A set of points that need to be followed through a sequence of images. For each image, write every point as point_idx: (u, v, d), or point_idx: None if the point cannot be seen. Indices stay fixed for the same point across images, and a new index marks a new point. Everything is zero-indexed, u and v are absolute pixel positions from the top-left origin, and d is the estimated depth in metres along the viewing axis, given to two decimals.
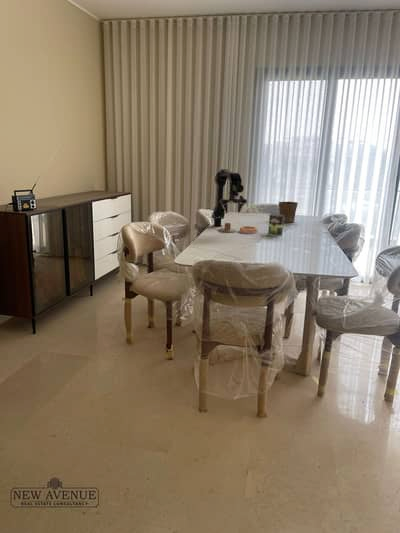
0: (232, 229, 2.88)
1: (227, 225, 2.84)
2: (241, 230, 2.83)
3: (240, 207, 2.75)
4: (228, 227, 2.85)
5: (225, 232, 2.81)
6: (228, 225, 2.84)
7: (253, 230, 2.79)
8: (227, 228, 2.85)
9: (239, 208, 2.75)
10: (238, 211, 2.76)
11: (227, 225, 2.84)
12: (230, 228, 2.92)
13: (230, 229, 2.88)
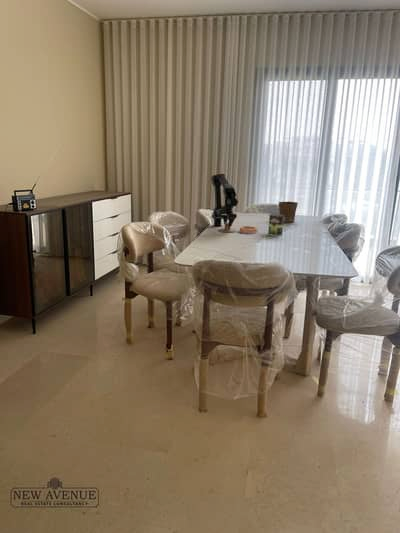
0: (232, 229, 2.88)
1: (227, 225, 2.84)
2: (241, 230, 2.83)
3: None
4: (228, 227, 2.85)
5: (225, 232, 2.81)
6: (228, 225, 2.84)
7: (253, 230, 2.79)
8: (227, 228, 2.85)
9: (229, 222, 2.80)
10: None
11: (227, 225, 2.84)
12: (230, 228, 2.92)
13: (230, 229, 2.88)
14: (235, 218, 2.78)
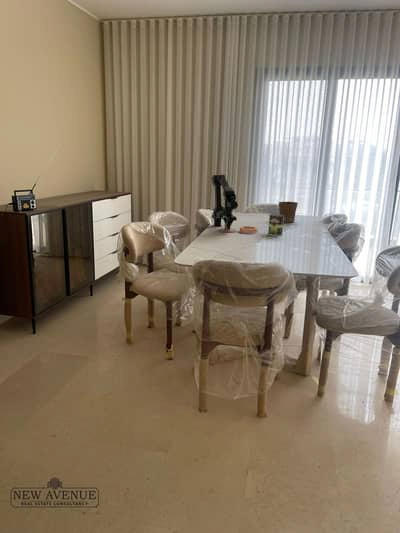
0: (232, 229, 2.88)
1: None
2: (241, 230, 2.83)
3: (227, 223, 2.83)
4: None
5: (225, 232, 2.81)
6: None
7: (253, 230, 2.79)
8: (227, 228, 2.85)
9: (227, 224, 2.84)
10: None
11: None
12: (230, 228, 2.92)
13: (230, 229, 2.88)
14: (233, 220, 2.81)
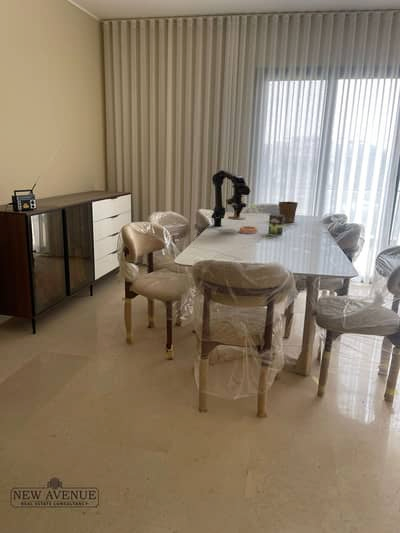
0: (242, 217, 2.84)
1: (236, 212, 2.80)
2: (241, 230, 2.83)
3: None
4: None
5: (234, 219, 2.77)
6: None
7: (253, 230, 2.79)
8: (236, 215, 2.81)
9: None
10: None
11: None
12: (239, 216, 2.88)
13: (239, 217, 2.84)
14: (243, 207, 2.77)
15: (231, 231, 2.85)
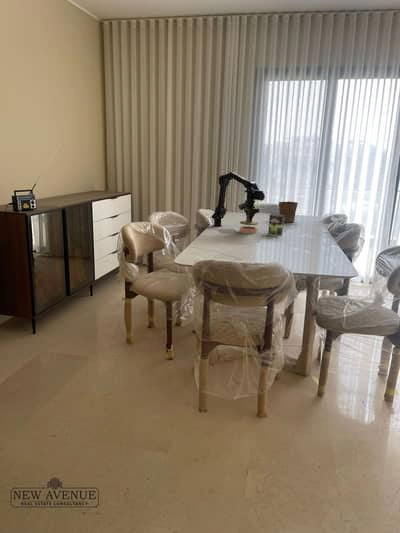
0: (254, 222, 2.85)
1: None
2: (241, 230, 2.83)
3: (249, 215, 2.79)
4: None
5: (247, 224, 2.77)
6: None
7: (253, 230, 2.79)
8: None
9: (249, 216, 2.80)
10: None
11: None
12: (251, 221, 2.88)
13: (252, 221, 2.84)
14: None
15: (231, 231, 2.85)
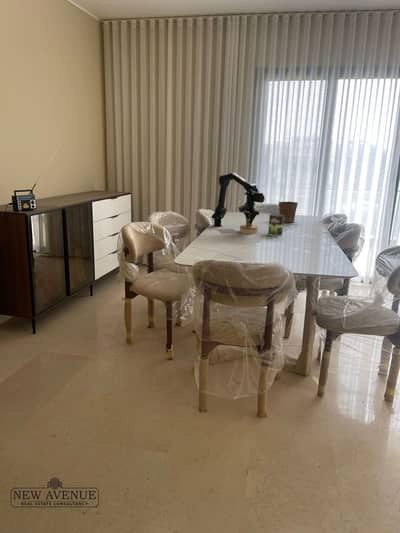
0: (253, 226, 2.86)
1: (249, 222, 2.81)
2: (241, 230, 2.83)
3: (249, 218, 2.79)
4: (250, 224, 2.82)
5: None
6: None
7: (253, 230, 2.79)
8: (249, 225, 2.82)
9: (249, 218, 2.79)
10: None
11: (249, 222, 2.81)
12: (251, 225, 2.89)
13: (251, 226, 2.85)
14: None
15: (231, 231, 2.85)
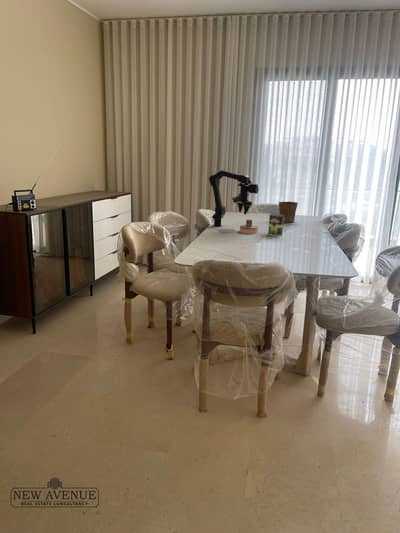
0: (253, 226, 2.86)
1: (249, 222, 2.81)
2: (241, 230, 2.83)
3: (244, 209, 2.86)
4: (250, 224, 2.82)
5: None
6: (250, 222, 2.82)
7: (253, 230, 2.79)
8: (249, 225, 2.82)
9: (244, 209, 2.87)
10: None
11: (249, 222, 2.81)
12: (251, 225, 2.89)
13: (251, 226, 2.85)
14: (250, 206, 2.84)
15: (231, 231, 2.85)
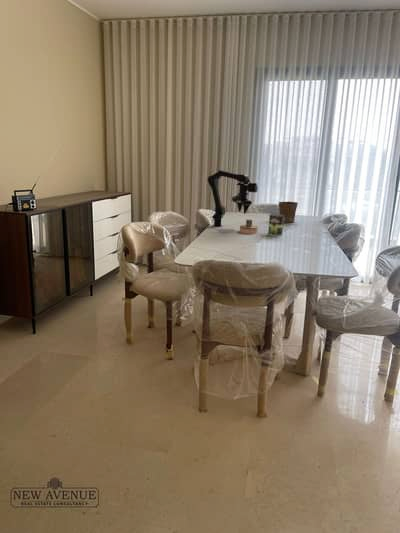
0: (253, 226, 2.86)
1: (249, 222, 2.81)
2: (241, 230, 2.83)
3: None
4: (250, 224, 2.82)
5: None
6: (250, 222, 2.82)
7: (253, 230, 2.79)
8: (249, 225, 2.82)
9: None
10: None
11: (249, 222, 2.81)
12: (251, 225, 2.89)
13: (251, 226, 2.85)
14: None
15: (231, 231, 2.85)
